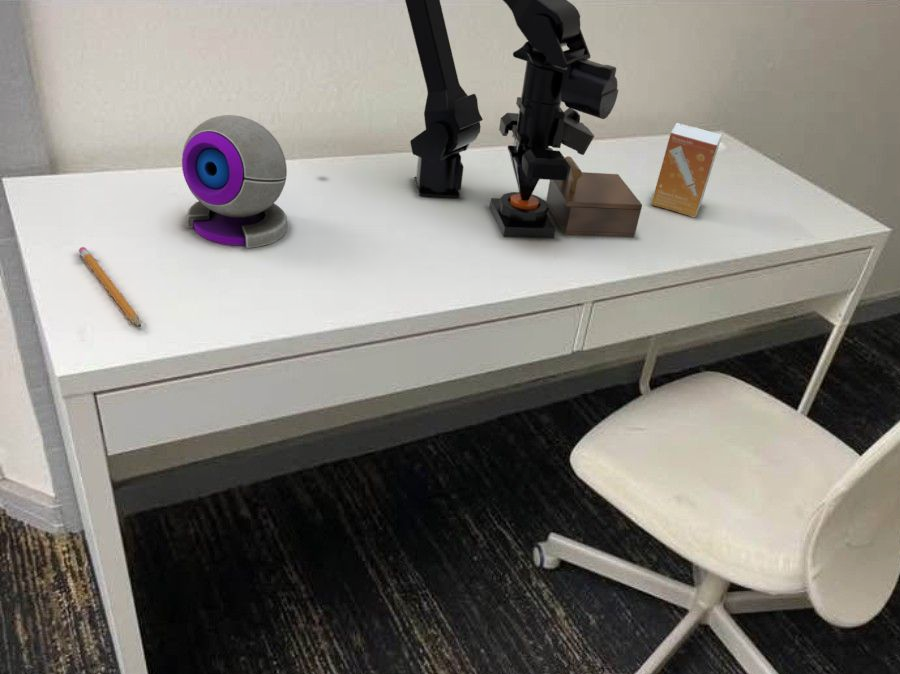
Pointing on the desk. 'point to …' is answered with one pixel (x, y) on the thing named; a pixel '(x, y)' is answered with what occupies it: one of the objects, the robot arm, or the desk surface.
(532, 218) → the panel
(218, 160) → the webcam
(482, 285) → the desk surface
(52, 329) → the desk surface
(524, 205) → the release button
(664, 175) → the small box
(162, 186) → the desk surface
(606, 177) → the lid
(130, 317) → the pencil
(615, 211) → the storage box
